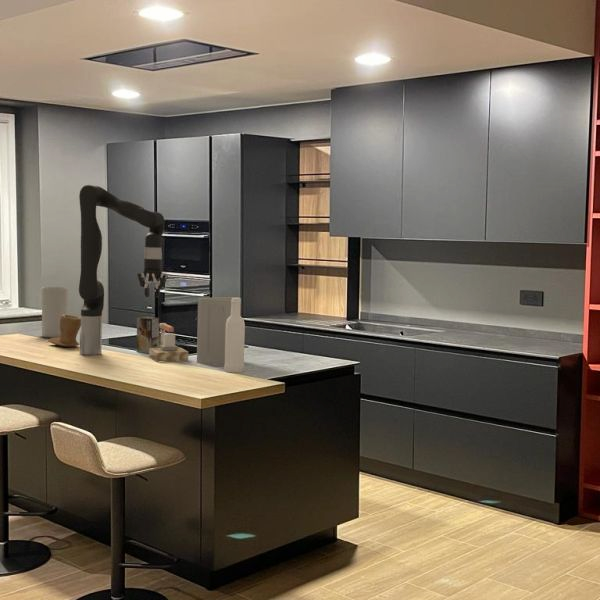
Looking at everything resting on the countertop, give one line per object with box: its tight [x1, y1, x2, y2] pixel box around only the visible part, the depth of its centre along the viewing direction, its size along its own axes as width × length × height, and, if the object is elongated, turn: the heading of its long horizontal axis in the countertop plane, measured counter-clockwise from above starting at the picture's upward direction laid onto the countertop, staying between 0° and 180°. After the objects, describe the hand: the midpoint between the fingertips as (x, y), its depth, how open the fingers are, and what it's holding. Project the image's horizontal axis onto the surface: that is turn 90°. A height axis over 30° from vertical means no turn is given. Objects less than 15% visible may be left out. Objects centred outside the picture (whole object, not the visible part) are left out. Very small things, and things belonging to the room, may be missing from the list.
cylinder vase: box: [41, 286, 68, 339], centre depth 439 cm, size 12×12×25 cm
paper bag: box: [196, 296, 242, 367], centre depth 368 cm, size 19×15×28 cm
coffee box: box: [136, 316, 161, 354], centre depth 395 cm, size 9×6×16 cm
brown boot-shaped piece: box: [47, 314, 81, 348], centre depth 406 cm, size 15×12×15 cm
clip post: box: [160, 328, 166, 345], centre depth 386 cm, size 5×5×12 cm
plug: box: [159, 333, 179, 351], centre depth 376 cm, size 7×7×11 cm
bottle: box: [224, 297, 246, 374], centre depth 349 cm, size 8×8×30 cm
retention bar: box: [160, 322, 175, 333], centre depth 379 cm, size 3×16×2 cm, turn 23°
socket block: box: [148, 346, 189, 363], centre depth 376 cm, size 14×14×4 cm
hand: (152, 296), depth 374 cm, fingers open, 4 cm apart
